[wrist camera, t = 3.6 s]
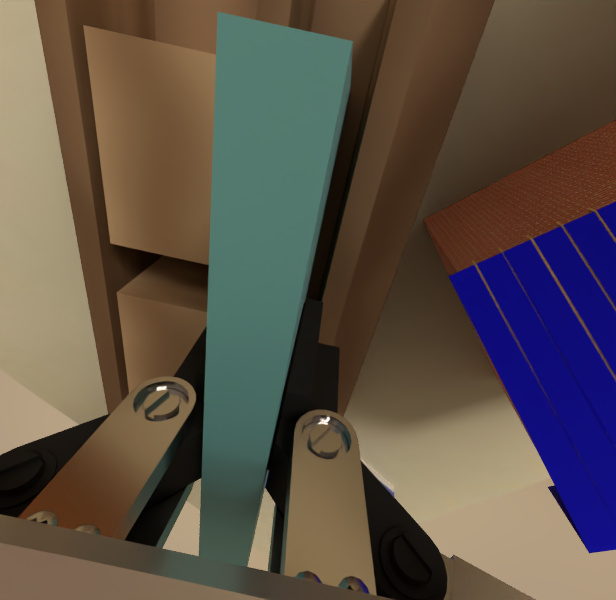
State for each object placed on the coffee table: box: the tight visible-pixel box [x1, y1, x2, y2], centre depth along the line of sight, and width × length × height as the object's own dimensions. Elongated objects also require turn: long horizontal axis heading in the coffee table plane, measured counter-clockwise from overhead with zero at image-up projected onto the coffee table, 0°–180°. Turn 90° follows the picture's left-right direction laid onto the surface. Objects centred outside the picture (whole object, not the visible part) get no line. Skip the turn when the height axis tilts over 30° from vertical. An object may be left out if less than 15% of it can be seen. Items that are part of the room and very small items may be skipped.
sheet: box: [199, 12, 353, 567], centre depth 11 cm, size 1×14×11 cm, turn 170°
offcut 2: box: [117, 255, 209, 393], centre depth 16 cm, size 4×6×4 cm, turn 169°
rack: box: [34, 0, 495, 417], centre depth 15 cm, size 15×21×6 cm
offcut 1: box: [83, 25, 216, 265], centre depth 12 cm, size 4×6×4 cm, turn 169°
